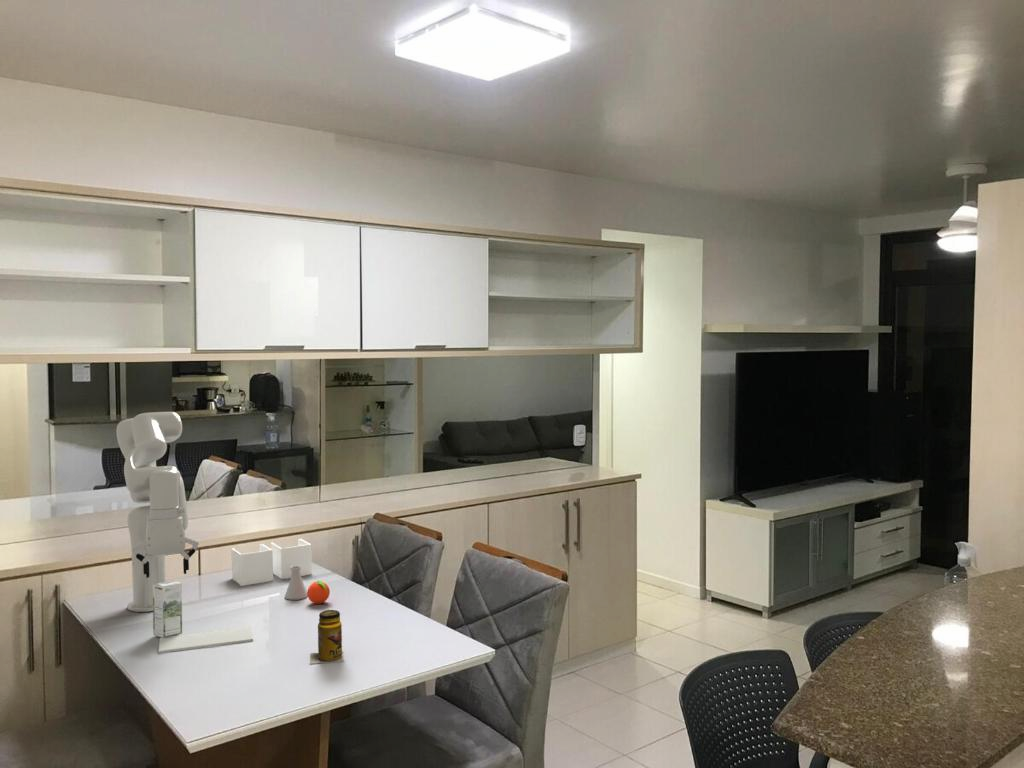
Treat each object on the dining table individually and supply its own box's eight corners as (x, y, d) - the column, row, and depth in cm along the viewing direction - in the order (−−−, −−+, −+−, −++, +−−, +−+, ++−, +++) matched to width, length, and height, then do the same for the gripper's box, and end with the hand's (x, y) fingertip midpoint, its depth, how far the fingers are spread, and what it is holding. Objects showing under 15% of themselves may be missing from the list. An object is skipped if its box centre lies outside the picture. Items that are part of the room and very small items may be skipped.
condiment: (343, 661, 216) (343, 615, 215) (309, 664, 214) (309, 618, 213) (343, 651, 223) (342, 607, 222) (310, 654, 221) (309, 609, 220)
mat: (160, 639, 233) (160, 637, 233) (250, 628, 242) (250, 626, 242) (158, 653, 223) (158, 650, 223) (253, 641, 231) (253, 638, 231)
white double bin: (241, 586, 286) (240, 554, 285) (232, 579, 295) (231, 548, 294) (311, 574, 300) (311, 544, 299) (301, 568, 309) (300, 538, 308)
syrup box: (172, 631, 240) (171, 580, 241) (183, 633, 236) (181, 581, 237) (153, 635, 236) (151, 583, 236) (163, 638, 232) (162, 585, 233)
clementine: (336, 603, 265) (335, 581, 264) (317, 608, 260) (317, 586, 259) (321, 598, 270) (321, 576, 270) (303, 603, 265) (302, 581, 265)
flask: (280, 599, 270) (279, 568, 270) (294, 593, 277) (293, 563, 276) (298, 601, 267) (298, 570, 267) (312, 595, 274) (311, 565, 274)
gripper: (197, 509, 241) (199, 568, 242) (131, 514, 235) (133, 575, 235) (197, 513, 234) (199, 574, 235) (129, 518, 228) (131, 581, 228)
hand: (166, 574), depth 235 cm, fingers open, 9 cm apart
